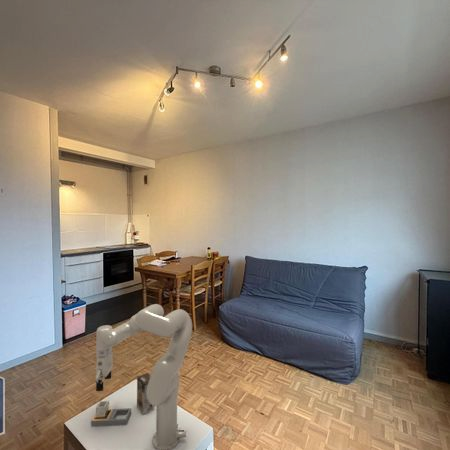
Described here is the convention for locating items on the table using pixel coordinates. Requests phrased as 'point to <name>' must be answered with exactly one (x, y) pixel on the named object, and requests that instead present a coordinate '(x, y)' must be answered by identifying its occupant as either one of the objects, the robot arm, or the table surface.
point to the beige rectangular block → (102, 410)
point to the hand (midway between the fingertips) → (103, 384)
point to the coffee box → (143, 394)
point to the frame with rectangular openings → (113, 418)
